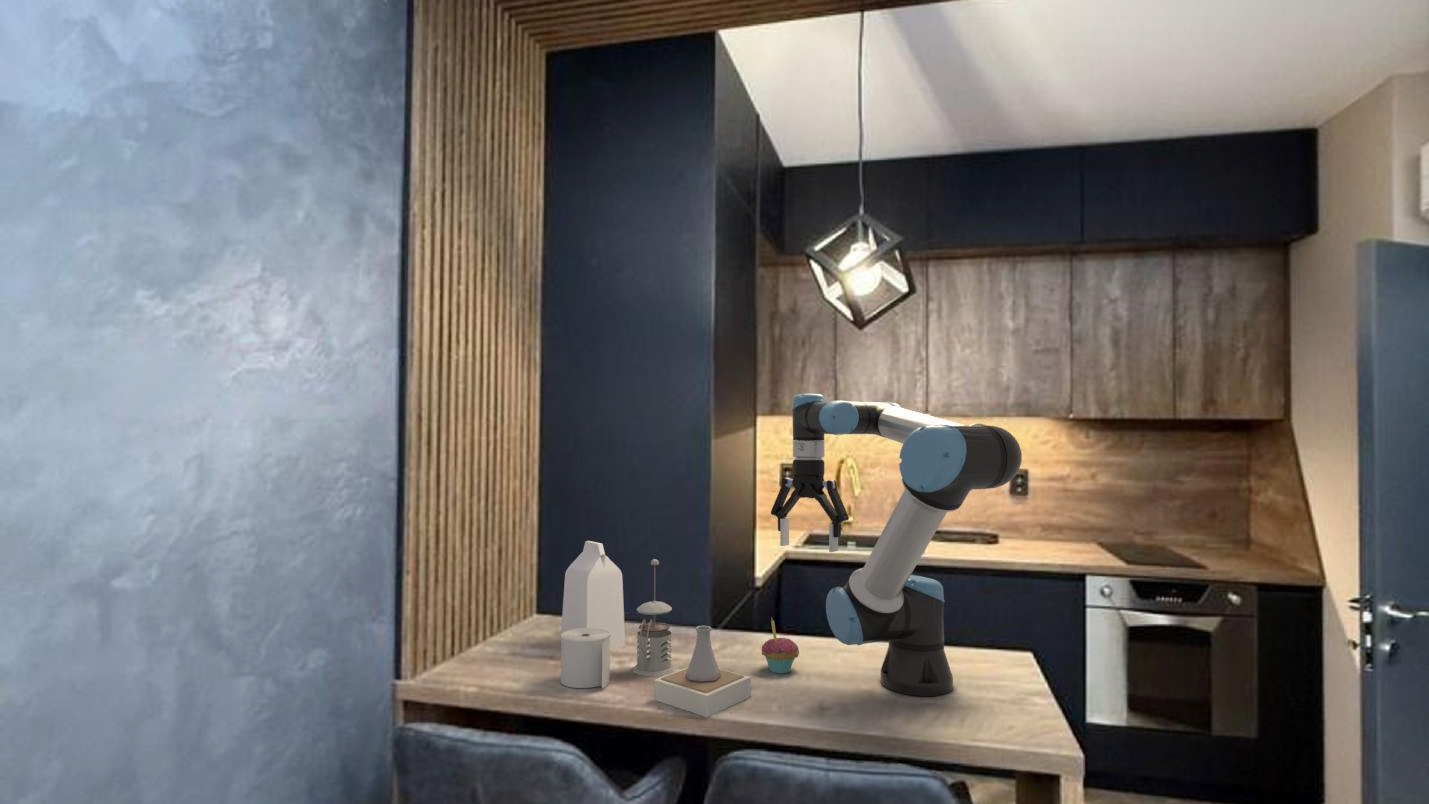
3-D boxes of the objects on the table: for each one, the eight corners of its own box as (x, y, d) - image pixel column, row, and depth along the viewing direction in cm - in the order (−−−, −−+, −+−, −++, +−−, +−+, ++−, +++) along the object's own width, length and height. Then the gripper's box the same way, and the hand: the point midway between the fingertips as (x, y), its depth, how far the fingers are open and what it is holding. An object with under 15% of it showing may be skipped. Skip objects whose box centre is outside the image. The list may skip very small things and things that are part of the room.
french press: (681, 664, 172) (681, 556, 173) (664, 680, 161) (665, 565, 161) (641, 660, 174) (642, 554, 175) (622, 676, 163) (623, 563, 164)
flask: (720, 683, 147) (720, 632, 147) (684, 682, 147) (684, 632, 147) (721, 671, 154) (721, 623, 154) (686, 670, 154) (687, 622, 154)
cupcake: (768, 677, 163) (768, 622, 163) (756, 665, 171) (756, 613, 172) (804, 674, 165) (804, 620, 166) (790, 662, 173) (790, 611, 174)
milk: (560, 644, 187) (561, 541, 188) (598, 636, 195) (599, 537, 196) (586, 655, 178) (587, 547, 179) (625, 646, 186) (626, 543, 187)
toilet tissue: (576, 670, 168) (577, 625, 168) (623, 676, 163) (624, 630, 164) (550, 685, 158) (551, 638, 158) (600, 692, 153) (600, 643, 154)
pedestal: (750, 696, 151) (750, 675, 151) (706, 717, 140) (707, 694, 140) (698, 681, 160) (699, 661, 160) (654, 699, 149) (654, 678, 149)
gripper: (757, 457, 181) (756, 544, 180) (847, 460, 165) (847, 556, 164) (774, 456, 186) (774, 541, 186) (863, 459, 171) (863, 551, 170)
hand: (808, 548), depth 175 cm, fingers open, 13 cm apart
